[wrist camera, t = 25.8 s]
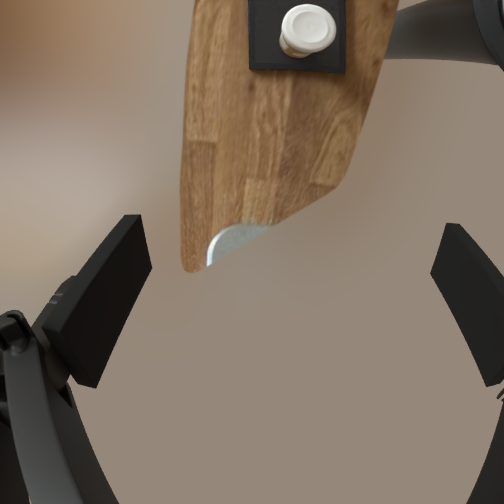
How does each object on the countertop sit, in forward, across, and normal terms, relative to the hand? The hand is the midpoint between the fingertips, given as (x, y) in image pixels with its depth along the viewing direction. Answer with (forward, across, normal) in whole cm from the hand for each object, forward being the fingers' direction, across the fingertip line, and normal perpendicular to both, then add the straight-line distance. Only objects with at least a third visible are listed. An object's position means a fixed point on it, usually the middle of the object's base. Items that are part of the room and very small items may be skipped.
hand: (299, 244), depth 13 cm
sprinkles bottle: (+30, +2, +11) cm, 32 cm away
